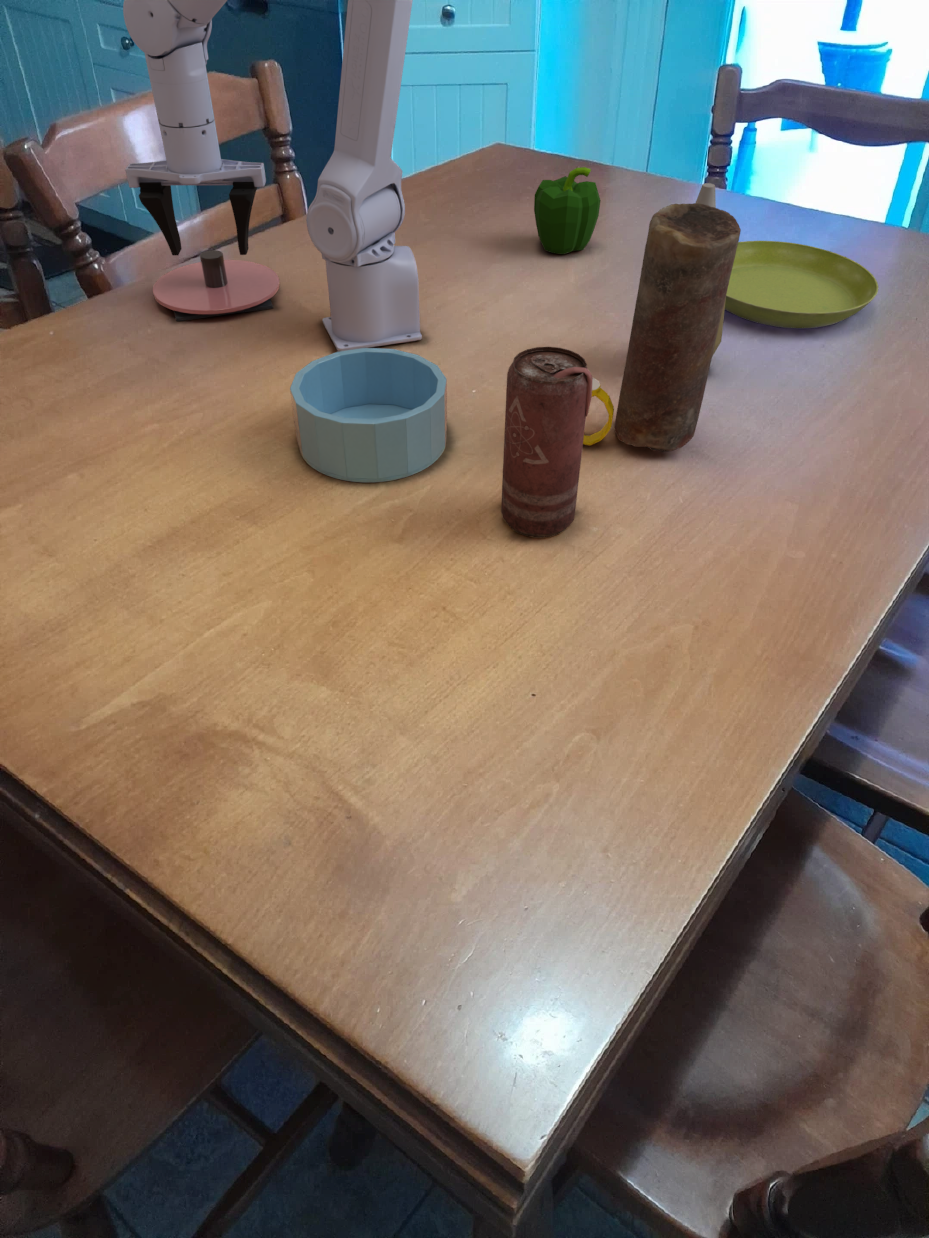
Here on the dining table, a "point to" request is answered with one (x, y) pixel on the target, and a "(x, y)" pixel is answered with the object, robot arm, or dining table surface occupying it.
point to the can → (544, 439)
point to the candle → (675, 324)
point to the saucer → (796, 285)
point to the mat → (187, 316)
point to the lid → (216, 285)
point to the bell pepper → (566, 212)
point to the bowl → (370, 414)
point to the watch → (610, 409)
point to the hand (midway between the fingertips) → (210, 252)
